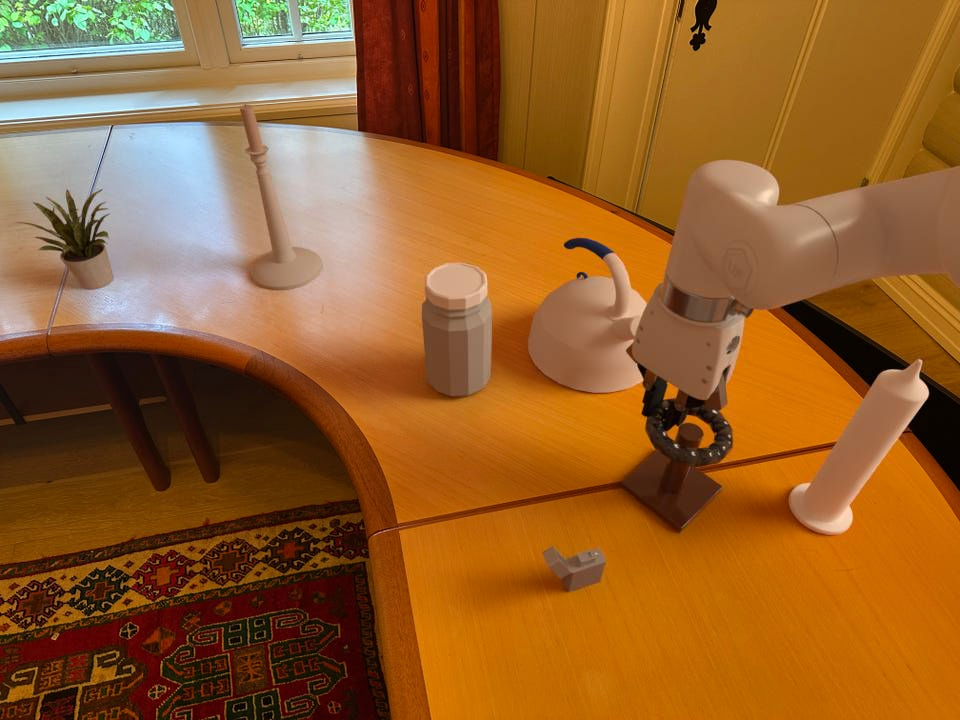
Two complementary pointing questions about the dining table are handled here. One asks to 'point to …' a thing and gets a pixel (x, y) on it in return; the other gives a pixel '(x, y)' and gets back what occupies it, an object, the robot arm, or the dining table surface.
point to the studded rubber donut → (687, 454)
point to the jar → (457, 329)
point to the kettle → (589, 328)
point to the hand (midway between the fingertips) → (661, 416)
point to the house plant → (79, 242)
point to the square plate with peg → (673, 483)
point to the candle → (859, 450)
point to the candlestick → (276, 226)
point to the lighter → (576, 567)
